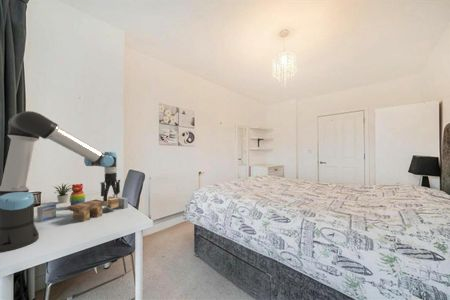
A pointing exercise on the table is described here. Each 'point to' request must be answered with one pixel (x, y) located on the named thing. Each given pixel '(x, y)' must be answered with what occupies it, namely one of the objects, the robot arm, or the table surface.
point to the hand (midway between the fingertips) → (110, 204)
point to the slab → (86, 206)
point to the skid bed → (87, 214)
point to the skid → (112, 202)
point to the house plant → (62, 193)
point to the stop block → (123, 202)
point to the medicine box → (46, 212)
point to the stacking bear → (77, 195)
